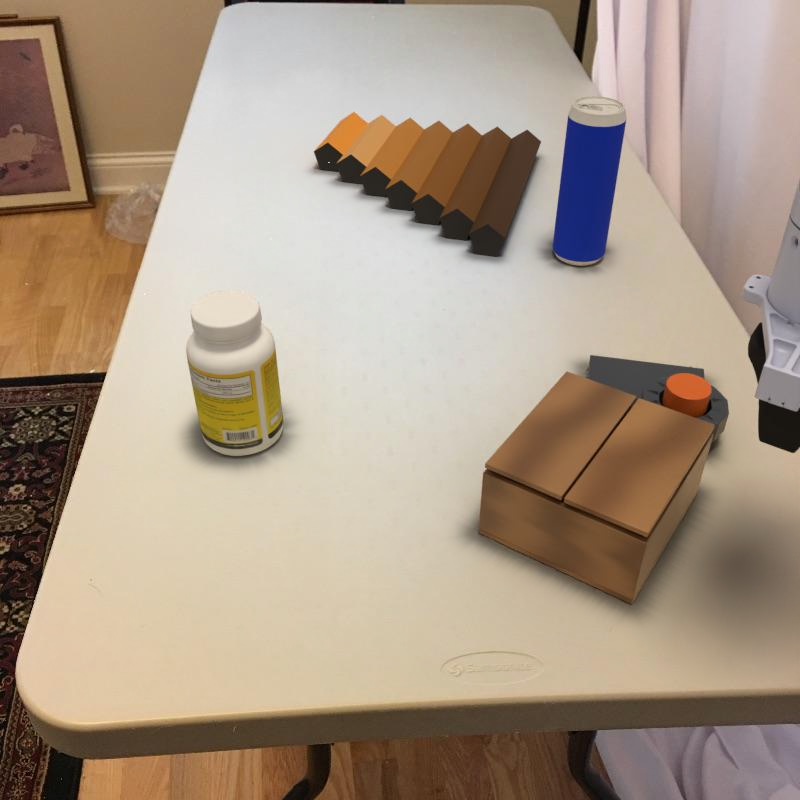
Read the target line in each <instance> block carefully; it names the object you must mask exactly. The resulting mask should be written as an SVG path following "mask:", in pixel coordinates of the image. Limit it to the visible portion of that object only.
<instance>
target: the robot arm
mask: <svg viewBox="0 0 800 800" xmlns="http://www.w3.org/2000/svg"><path fill="white" fill-rule="evenodd" d="M740 297H741V298H742V299H743V301H746V302H747V303H750V304H754V305H756V306H757V307H758V308H759V310H760V318H761V322H759V323H758V324H757V326H756V327H755V329H754V330H753V331H752V333H751V335H750V336H749V340H748V343H747V344H748V345H747V357H748V358H749V361H750V363H751V365H752V368H753V370H754V371H753V372H754V374H755V377H756V382H757V387H756V390H755V393H754V398H755V399H758V414H757V415H758V417H757V431H758V432H757V435H758V441H759V442H760V443H764V444H766V445H768V446H771V447H774V448H778V449H780V450H782V451H785V452H788V453H791V454H795V453H796V452H797V451H798V450H799V449H800V178H799V179H798V182H797V185H796V189H795V193H794V196H793V199H792V203H791V207H790V212H789V215H788V218H787V222H786V224H785V229H784V232H783V236H782V239H781V243H780V246H779V249H778V253H777V257H776V259H775V263H774V267H773V271H772V274H771V276H768V275H765V274H756V273H755V274H752V275H751V276H750V277H749V278H748V279H747V281H746V282H745V283H744V285H743V288H742V292H741V296H740Z"/></svg>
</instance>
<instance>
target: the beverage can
mask: <svg viewBox="0 0 800 800" xmlns="http://www.w3.org/2000/svg"><path fill="white" fill-rule="evenodd" d="M626 111H627V110H626V107H625V104H624V103H623V102H621V101H619V100H617V99H615V98H610V97H607V96H606V97H605V96H597V95H596V96H595V95H594V96H584V97H580V98H577V99H575V100H574V101H573V102H572V105H571V107H570V109H569V111H568V113H567V122H566V129H565V139H564V147H563V156H562V164H561V172H560V180H559V189H558V197H557V205H556V206H557V207H556V212H555V213H556V214H555V222H554V231H553V239H552V241H553V242H552V251H553V254H555V257H556V258H557V259H559V260H560V261H561V262H564V263H566V264H567V265H571V266H579V267H580V266H581V267H583V266H584V267H585V266H591V265H594V264H596V263H598V262H599V261H600V260H601V259H602V258H603V257H604V256H605V254H606V249H607V244H608V239H609V238H608V237H609V232H610V225H611V218H612V211H613V207H614V206H613V205H614V199H615V193H616V188H617V181H618V174H619V169H620V163H621V156H622V150H623V143H624V138H625V130H626V125H627V112H626Z"/></svg>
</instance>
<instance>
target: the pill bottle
mask: <svg viewBox="0 0 800 800" xmlns="http://www.w3.org/2000/svg"><path fill="white" fill-rule="evenodd" d="M190 321H191V327H192V330H193V331H192V332H191V334H190V336H189V337H188V339H187V342H186V348H185V352H186V359H187V360H186V361H187V365H188V371H189V376H190V381H191V387H192V392H193V397H194V403H195V407H196V408H195V409H196V413H197V418H198V423H199V430H200V433H201V436H202V439H203V441H204V442H205V444H206V445H207V446H208V447H209V448H210V449H212V450H213V451H215V452H218V453H219V454H222V455H226V456H231V457H234V456H235V457H242V456H249V455H253V454H257V453H260V452H262V451H264V450H266V449H268V448H270V447H271V446H272V445H274V444H275V443H276V442H277V441H278V439H280V437H281V435H282V433H283V429H284V413H283V405H282V395H281V386H280V377H279V368H278V358H277V350H276V342H275V338H274V335H273V333H272V332H271V329H269V328H268V327H267V325H265V324H264V323H263V322H262V321H263V316H262V311H261V304H260V302H259V300H258V299H257V298H256V297H255V296H254V295H252V294H250V293H248V292H246V291H241V290H235V289H234V290H233V289H232V290H230V289H228V290H219V291H215V292H211V293H208V294H206V295H204V296H202V297H200V298H199V299H197V300H196V301H195V302H194V303H193V304H192V306H191V308H190Z"/></svg>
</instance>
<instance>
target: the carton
mask: <svg viewBox="0 0 800 800" xmlns="http://www.w3.org/2000/svg"><path fill="white" fill-rule="evenodd" d="M587 378H588V377H584V376H581V375H579V374H576V373H573V372H570V371H568V370H567V371H565V372H564V374H563V375H561V377H560V378H559V380H557V382H555V384H554V385H553V386H552V387H551V388H550V389H549V390H548V392H546V394H545V395H544V396H543V397H542V399H540V401H539V402H538V403H537V404H536V405H535V406H534V408H533V409H532V410H531V411H530V412H529V413H528V414H527V415H526V417H525V418H524V419H523V420H522V421H521V422H520V423H519V424H518V425H517V426H516V428H515V429H514V430H513V431H512V432H511V434H509V436H508V437H507V438H506V439H505V440H504V441H503V443H502V444H501V445H499V447H498V449H496V451H495V452H494V453H493V454H492V455H491V456H490V457H489V459H487V461H486V462H485V464H484V468H485V470H484V471H483V472H482V482H481V496H480V508H479V520H478V534H480V535H482V536H485V537H487V538H488V539H490V540H493V541H495V542H497V543H498V544H499V543H500V544H501V545H503V546H505V547H508V548H510V549H512V550H514V551H517V552H519V553H521V554H523V555H525V556H527V557H529V558H531V559H534V560H536V561H538V562H540V563H542V564H544V565H547V566H548V567H551V568H552V569H555V570H558V571H559V572H561V573H564V574H566V575H568V576H570V577H572V578H574V579H577V580H578V581H580V582H583V583H585V584H587V585H589V586H592V587H594V588H596V589H598V590H600V591H602V592H605V593H607V594H608V595H610V596H613V597H615V598H617V599H619V600H621V601H624V602H626V603H627V604H630V605H632V604H634V601H635V600H636V598H637V596H638V595H639V594H640V591H641V590H642V588H643V586H644V584H645V583H646V581H647V580H648V577H649V576H650V574H651V572H652V571H653V569H654V568H655V566H656V564H657V562H658V560H659V559H660V558H661V556H662V554H663V552H664V550H665V548H666V547H667V545H668V543H670V540H671V539H672V536H673V535H674V533H675V531H676V530H677V528H678V526H679V525H680V523H681V521H682V519H683V518H684V516H685V514H686V513H687V511H688V509H689V507H690V506H691V504H692V502H693V500H694V499H695V497H696V495H697V494H698V490H699V489H700V488H699V487H700V484H701V480H702V476H703V473H704V469H705V466H706V463H707V459H708V456H709V452H710V448H711V445H712V443H713V442H712V438H713V434H712V433H711V434H710V436H709V437H708V439H707V441H706V442H705V444H704V446H703V447H702V449H701V450H700V452H699V454H698V455H697V457H696V459H695V460H694V462H693V463H692V465H691V467H690V468H689V470H688V472H687V473H686V475H685V476H684V478H683V480H682V481H681V483H680V485H679V486H678V488H677V490H676V491H675V493H674V494H673V496H672V498H671V499H670V501H669V503H668V504H667V506H666V507H665V509H664V511H663V512H662V514H661V516H660V517H659V519H658V520H657V522H656V524H655V525H654V527H653V529H652V530H651V532H650V534H649V535H648V537H645V536H642V535H640V534H638V533H635V532H633V531H631V530H628V529H626V528H623V527H621V526H619V525H616V524H614V523H611V522H609V521H607V520H604V519H602V518H600V517H597V516H595V515H592V514H590V513H588V512H585V511H583V510H580V509H578V508H576V507H573V506H571V505H568V504H566V503H564V498H565V496H566V495H567V494H568V492H569V491H570V490H571V488H572V487H573V486H574V484H575V483H576V482H577V480H578V479H579V478H580V476H581V475H582V474H583V472H584V471H585V470H586V468H587V467H588V466H589V464H590V463H591V462H592V460H593V459H594V458H595V456H596V455H597V454H598V452H599V451H600V450H601V448H602V447H603V446H604V444H605V443H606V442H607V440H608V439H609V438H610V436H611V435H612V434H613V432H614V431H615V430H616V428H617V427H618V426H619V424H620V423H621V422H622V420H623V419H624V417H625V416H626V415H627V413H628V412H629V411H630V409H631V408H632V407H633V404H634V403H635V401H636V398H637V396H634V395H631V394H629V393H626V392H623V391H620V390H617V389H615V388H612V387H609V386H606V385H604V384H601V383H598V382H595V381H592V380H590V379H587Z"/></svg>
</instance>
